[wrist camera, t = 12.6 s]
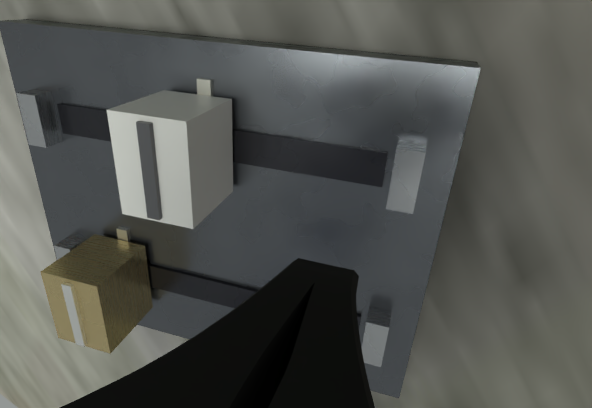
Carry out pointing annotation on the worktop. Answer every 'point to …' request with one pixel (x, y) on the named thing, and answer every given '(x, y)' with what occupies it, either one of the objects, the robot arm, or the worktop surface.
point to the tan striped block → (99, 292)
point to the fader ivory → (172, 156)
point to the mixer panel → (257, 167)
